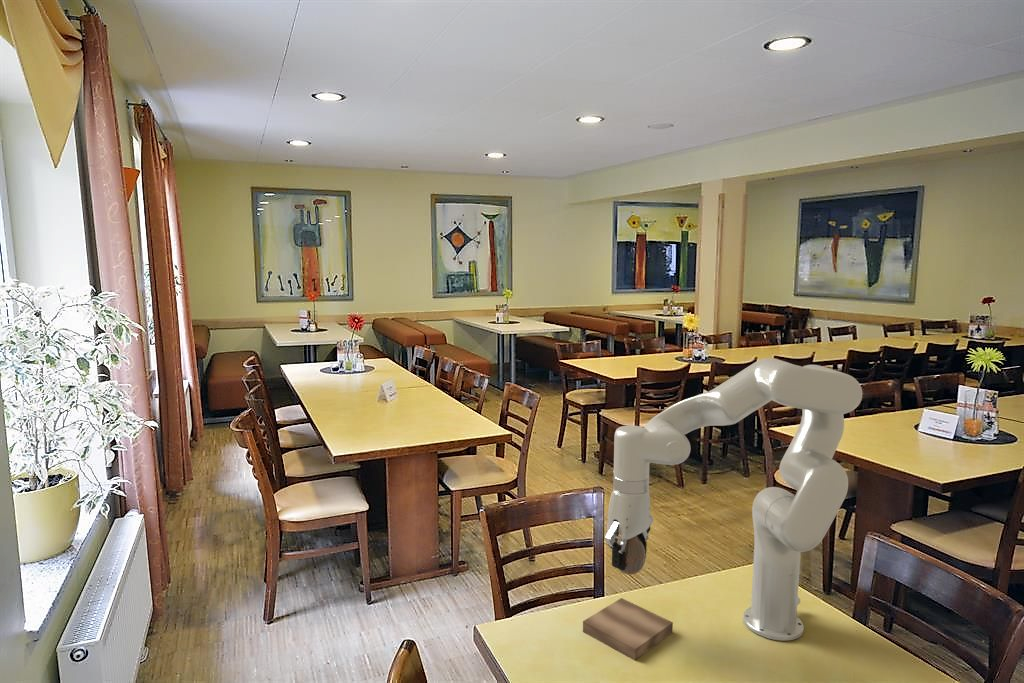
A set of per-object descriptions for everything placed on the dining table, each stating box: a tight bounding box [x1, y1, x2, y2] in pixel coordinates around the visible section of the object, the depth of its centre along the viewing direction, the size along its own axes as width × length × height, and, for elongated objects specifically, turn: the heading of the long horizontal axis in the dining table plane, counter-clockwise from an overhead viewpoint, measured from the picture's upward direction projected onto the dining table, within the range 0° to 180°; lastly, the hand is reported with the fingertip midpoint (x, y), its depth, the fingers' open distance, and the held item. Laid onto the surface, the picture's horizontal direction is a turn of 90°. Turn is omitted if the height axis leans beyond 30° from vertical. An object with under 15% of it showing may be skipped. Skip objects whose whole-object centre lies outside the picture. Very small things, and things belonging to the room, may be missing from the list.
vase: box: [617, 536, 647, 575], centre depth 138 cm, size 7×7×9 cm
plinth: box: [582, 597, 674, 661], centre depth 141 cm, size 14×14×2 cm
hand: (629, 561), depth 139 cm, fingers closed on vase, 6 cm apart
